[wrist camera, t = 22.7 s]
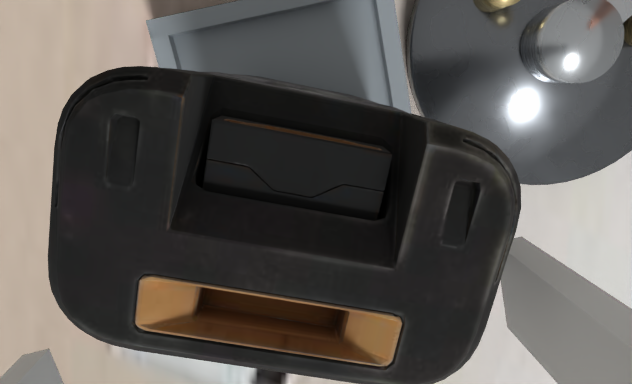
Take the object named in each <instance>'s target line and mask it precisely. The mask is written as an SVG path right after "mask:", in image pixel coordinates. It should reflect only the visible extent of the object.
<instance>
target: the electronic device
mask: <svg viewBox="0 0 632 384" xmlns="http://www.w3.org/2000/svg"><path fill="white" fill-rule="evenodd" d="M520 210H521V186H520V183H519V179H518V175H517V173H516V171H515V169H514V167H513V165H512V163H511V161H510V159H509V158H508V157H507V156H506V155H505V154H504V153H503V151H502V150H501V149H500V148H499V147H498V146H497V145H495V144H494V143H493V142H491V141H490V140H488V139H486V138H484V137H482V136H480V135H478V134H476V133H474V132H471V131H468V130H465V129H462V128H459V127H456V126H453V125H449V124H446V123H443V122H440V121H437V120H434V119H430V118H426V117H422V116H418V115H414V114H410V113H408V112H405V111H403V110H400V109H398V108H395V107H391V106H387V105H383V104H379V103H376V102H373V101H370V100H367V99H363V98H360V97H356V96H353V95H349V94H344V93H339V92H334V91H329V90H324V89H319V88H314V87H309V86H304V85H299V84H294V83H289V82H284V81H279V80H274V79H269V78H264V77H259V76H250V75H239V74H227V73H221V72H197V71H190V70H181V69H172V68H158V67H143V66H136V67H121V68H116V69H112V70H107V71H105V72H103V73H100V74H98V75H96V76H94V77H92V78H90V79H89V80H87V81H86V82H85V83H84V84H83V85H82V86H80V87H79V88H78V89H77V90H76V91H75V92H74V93H73V94H72V95H71V97H70V98H69V100H68V102H67V103H66V105H65V107H64V108H63V111H62V114H61V116H60V119H59V122H58V127H57V134H56V140H55V147H54V164H53V181H52V197H51V214H50V231H49V248H48V271H49V280H50V285H51V290H52V293H53V295H54V297H55V299H56V301H57V303H58V305H59V307H60V309H61V310H62V311H63V312H64V314H65V315H66V316H67V318H68V319H69V320H70V321H71V322H72V323H73V324H74V325H75V326H77V327H78V328H79V329H81V330H82V331H84V332H85V333H87V334H89V335H90V336H92V337H94V338H96V339H98V340H100V341H103V342H106V343H109V344H111V345H115V346H119V347H124V348H128V349H133V350H138V351H144V352H151V353H158V354H164V355H171V356H178V357H184V358H191V359H198V360H204V361H211V362H218V363H224V364H231V365H238V366H244V367H251V368H258V369H264V370H271V371H278V372H284V373H291V374H298V375H304V376H311V377H318V378H324V379H331V380H338V381H344V382H351V383H358V384H434V383H436V382H439V381H441V380H444V379H445V378H447V377H448V376H450V375H451V374H453V373H454V372H456V371H457V370H459V369H460V368H461V367H462V366H463V365H464V364H465V363H466V362H467V361H468V360H469V359H470V358H471V356H472V354H473V353H474V351H475V350H476V348H477V346H478V344H479V342H480V340H481V337H482V335H483V332H484V330H485V327H486V324H487V321H488V318H489V315H490V311H491V308H492V305H493V302H494V299H495V296H496V292H497V289H498V286H499V283H500V280H501V277H502V273H503V270H504V267H505V264H506V261H507V257H508V254H509V251H510V248H511V245H512V242H513V238H514V235H515V232H516V228H517V224H518V219H519V214H520Z"/></svg>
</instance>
